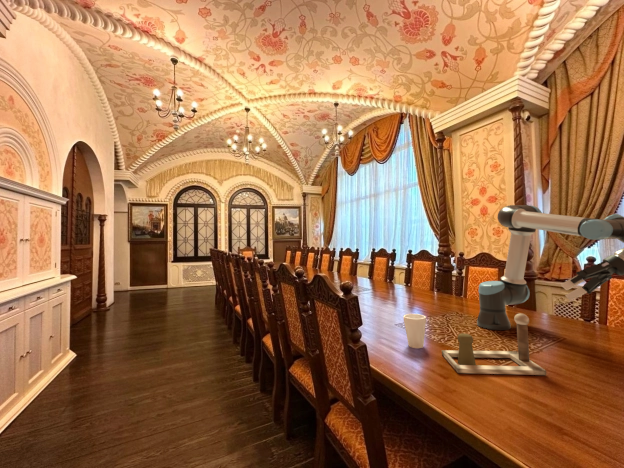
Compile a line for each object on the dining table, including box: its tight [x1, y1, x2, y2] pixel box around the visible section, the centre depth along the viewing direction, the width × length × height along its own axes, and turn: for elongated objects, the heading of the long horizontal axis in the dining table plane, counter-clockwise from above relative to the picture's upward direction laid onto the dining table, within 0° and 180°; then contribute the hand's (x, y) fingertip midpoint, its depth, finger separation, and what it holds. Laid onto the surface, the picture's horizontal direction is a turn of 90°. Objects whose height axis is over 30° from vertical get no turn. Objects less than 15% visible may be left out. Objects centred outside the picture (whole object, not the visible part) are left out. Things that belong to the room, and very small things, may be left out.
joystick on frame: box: [441, 313, 548, 376], centre depth 105 cm, size 28×17×18 cm, turn 83°
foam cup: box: [403, 313, 427, 349], centre depth 126 cm, size 10×9×13 cm
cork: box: [457, 333, 477, 365], centre depth 106 cm, size 6×6×11 cm
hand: (565, 293), depth 113 cm, fingers open, 13 cm apart
